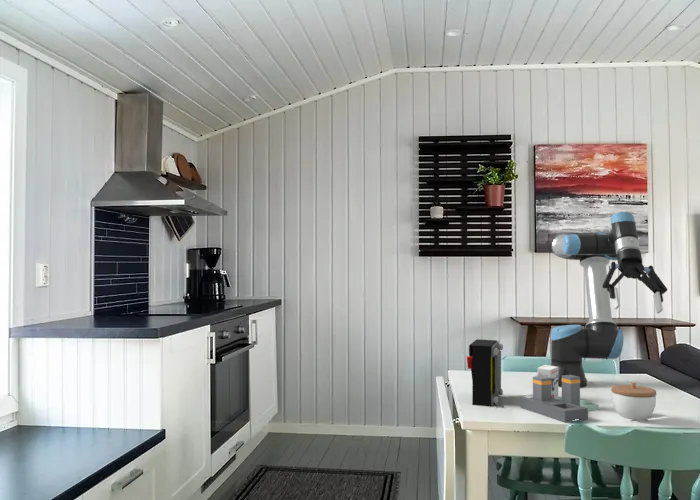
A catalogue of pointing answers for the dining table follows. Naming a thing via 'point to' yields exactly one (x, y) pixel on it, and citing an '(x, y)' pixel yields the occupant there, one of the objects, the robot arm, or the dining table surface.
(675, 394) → the dining table surface
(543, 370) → the ink box
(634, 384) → the lidded bowl
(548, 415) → the pdu strip
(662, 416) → the dining table surface
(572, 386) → the plug
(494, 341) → the electrical component
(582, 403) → the tray
